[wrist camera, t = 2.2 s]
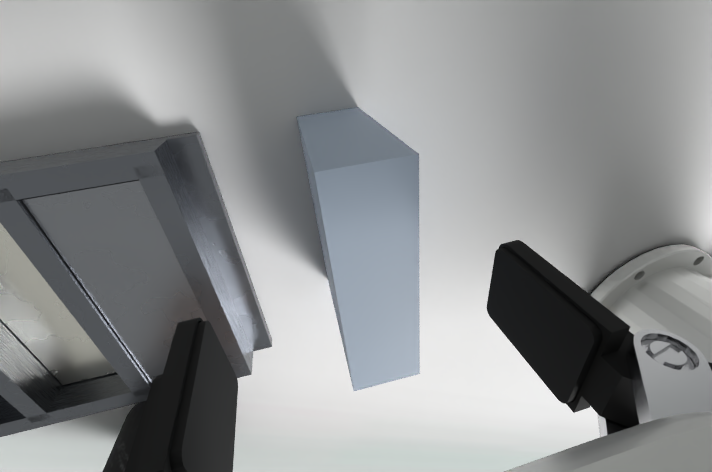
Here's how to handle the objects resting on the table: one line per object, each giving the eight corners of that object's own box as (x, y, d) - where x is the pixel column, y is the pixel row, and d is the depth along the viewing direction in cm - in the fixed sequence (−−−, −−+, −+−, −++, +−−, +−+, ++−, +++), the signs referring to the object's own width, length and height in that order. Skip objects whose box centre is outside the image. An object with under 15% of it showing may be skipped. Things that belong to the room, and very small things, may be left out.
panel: (357, 106, 16) (418, 153, 9) (373, 268, 21) (419, 373, 15) (296, 116, 16) (314, 172, 9) (327, 278, 21) (353, 391, 14)
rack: (199, 131, 15) (185, 147, 13) (272, 339, 22) (271, 373, 20) (-346, 215, 12) (-484, 253, 10) (-61, 419, 20) (-105, 467, 18)
